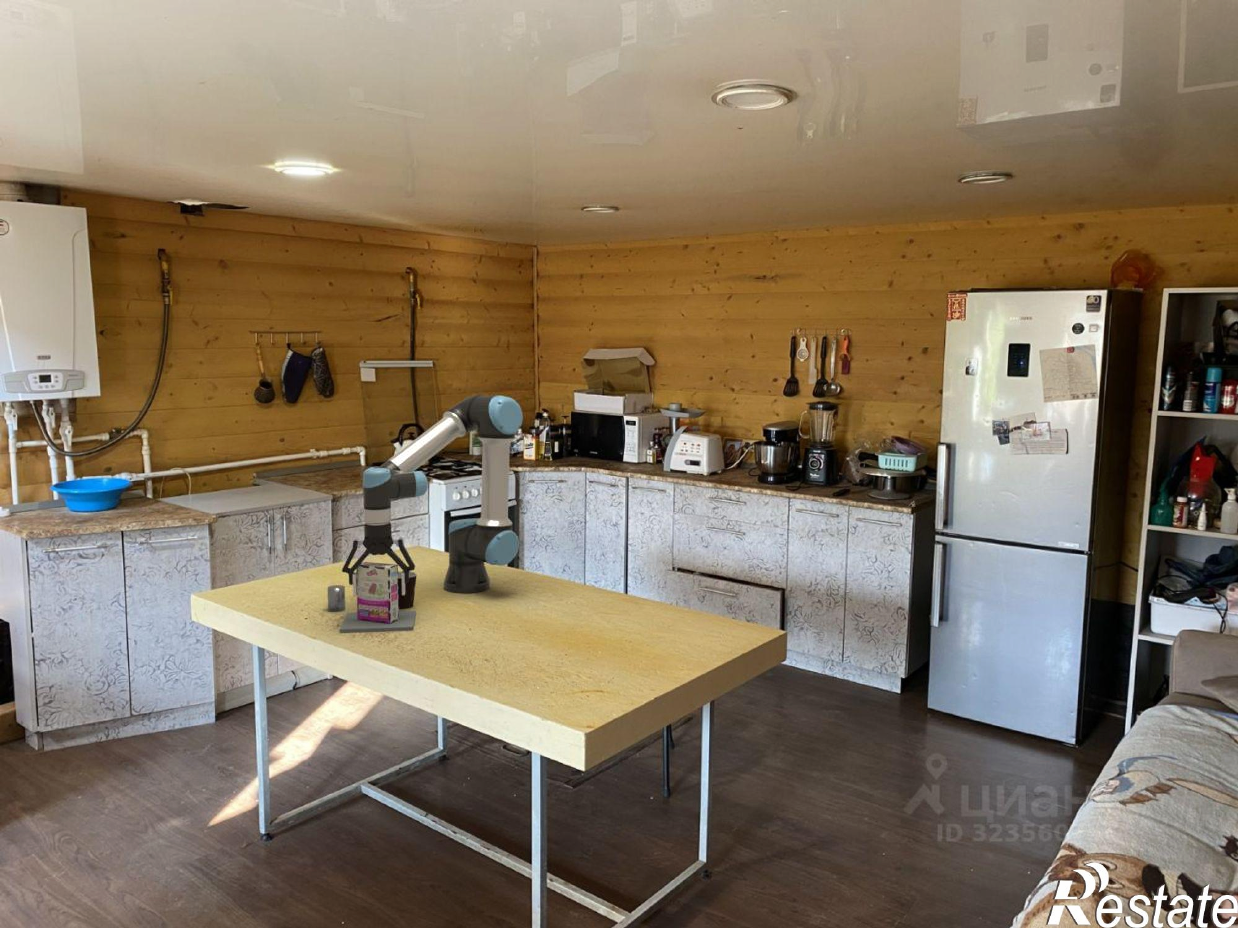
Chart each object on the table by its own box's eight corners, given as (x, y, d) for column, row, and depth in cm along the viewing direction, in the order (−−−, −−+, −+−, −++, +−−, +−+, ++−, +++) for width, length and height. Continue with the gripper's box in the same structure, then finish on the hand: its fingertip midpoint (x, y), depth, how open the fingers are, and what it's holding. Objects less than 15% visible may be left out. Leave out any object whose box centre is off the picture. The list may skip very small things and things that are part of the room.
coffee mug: (409, 611, 272) (409, 579, 270) (383, 609, 273) (382, 577, 272) (425, 600, 283) (425, 570, 282) (400, 598, 285) (399, 568, 283)
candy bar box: (399, 619, 260) (399, 564, 258) (390, 624, 255) (389, 568, 253) (366, 615, 263) (365, 560, 261) (356, 619, 259) (355, 564, 256)
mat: (416, 613, 269) (416, 610, 269) (413, 630, 253) (412, 626, 253) (347, 615, 266) (347, 612, 266) (339, 632, 250) (339, 629, 250)
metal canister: (346, 607, 275) (345, 584, 274) (344, 611, 270) (343, 589, 269) (329, 607, 274) (328, 585, 273) (326, 612, 269) (326, 589, 268)
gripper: (423, 519, 261) (424, 589, 264) (334, 520, 257) (336, 592, 260) (421, 524, 254) (423, 596, 257) (330, 526, 250) (332, 599, 253)
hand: (379, 594), depth 259 cm, fingers open, 13 cm apart
